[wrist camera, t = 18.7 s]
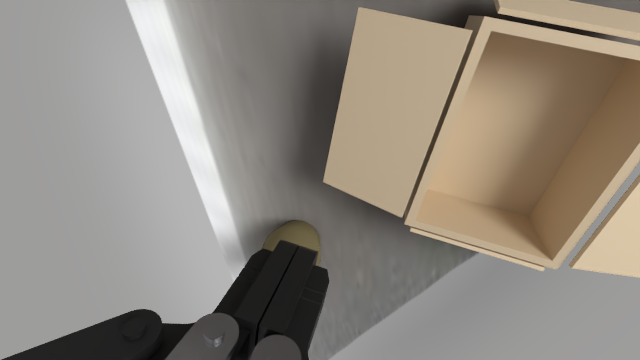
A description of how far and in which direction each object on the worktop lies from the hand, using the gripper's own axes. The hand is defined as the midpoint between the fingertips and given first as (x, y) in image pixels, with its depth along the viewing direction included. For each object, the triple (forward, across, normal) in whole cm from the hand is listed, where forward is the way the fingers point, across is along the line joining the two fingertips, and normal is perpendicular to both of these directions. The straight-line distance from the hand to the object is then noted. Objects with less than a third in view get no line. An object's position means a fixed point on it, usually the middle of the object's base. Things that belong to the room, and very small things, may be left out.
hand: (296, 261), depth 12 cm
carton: (+27, -14, 0) cm, 30 cm away
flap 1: (+18, -6, 0) cm, 19 cm away
